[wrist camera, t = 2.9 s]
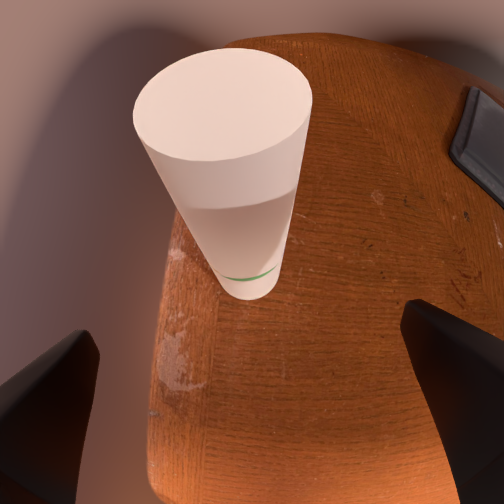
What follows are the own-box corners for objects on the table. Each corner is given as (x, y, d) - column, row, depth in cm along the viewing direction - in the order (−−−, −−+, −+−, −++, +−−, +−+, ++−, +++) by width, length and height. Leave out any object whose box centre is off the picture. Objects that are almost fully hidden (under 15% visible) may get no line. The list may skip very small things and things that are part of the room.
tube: (205, 277, 20) (100, 123, 6) (239, 229, 21) (207, 38, 7) (257, 312, 19) (243, 197, 5) (290, 260, 20) (340, 79, 6)
